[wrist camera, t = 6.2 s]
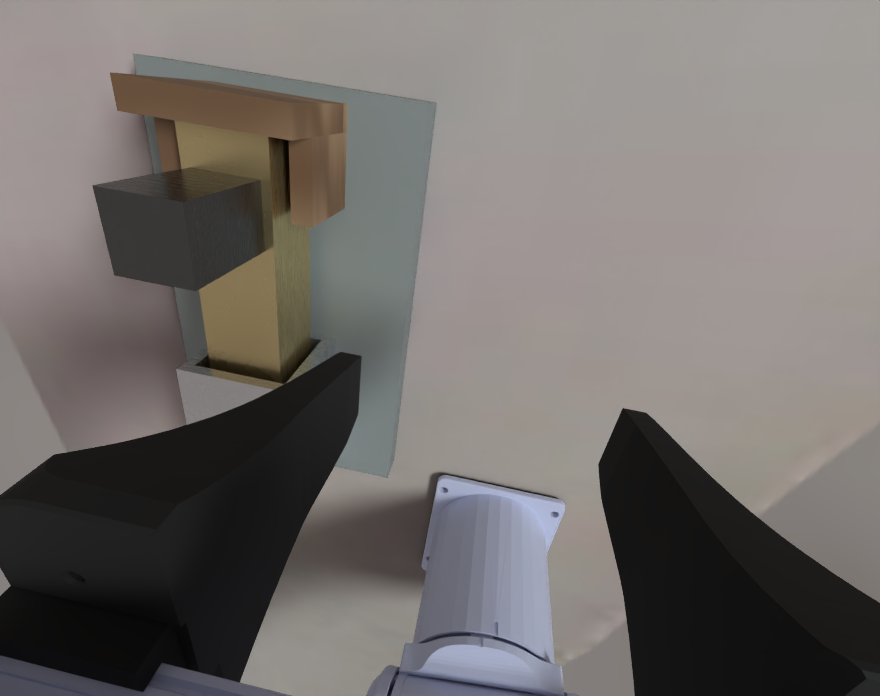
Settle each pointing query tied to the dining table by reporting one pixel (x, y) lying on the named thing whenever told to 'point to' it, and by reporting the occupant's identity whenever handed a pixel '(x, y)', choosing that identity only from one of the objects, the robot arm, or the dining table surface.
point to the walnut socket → (252, 131)
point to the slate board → (349, 244)
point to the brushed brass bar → (221, 245)
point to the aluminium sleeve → (233, 382)
